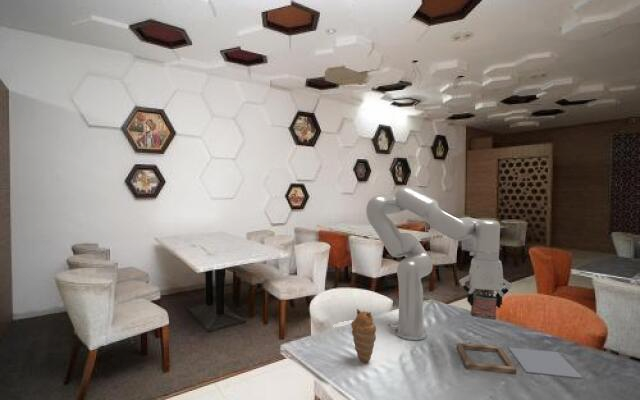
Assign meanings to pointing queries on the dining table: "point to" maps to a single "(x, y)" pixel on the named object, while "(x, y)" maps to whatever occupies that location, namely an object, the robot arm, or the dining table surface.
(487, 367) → the picture frame
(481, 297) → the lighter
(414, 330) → the robot arm
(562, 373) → the pad
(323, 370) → the dining table surface
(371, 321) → the cat ice cream
